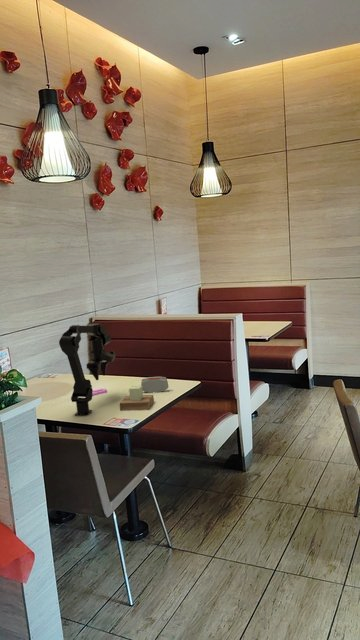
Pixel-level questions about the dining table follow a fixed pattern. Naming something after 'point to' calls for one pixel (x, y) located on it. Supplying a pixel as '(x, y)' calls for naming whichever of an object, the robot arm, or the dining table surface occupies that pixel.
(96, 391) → the bracket
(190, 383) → the dining table surface
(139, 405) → the walnut block
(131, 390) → the sage cube
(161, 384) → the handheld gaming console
